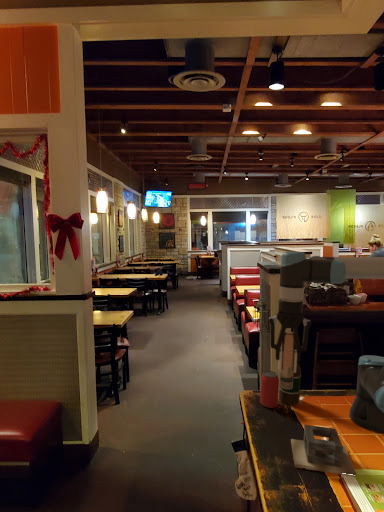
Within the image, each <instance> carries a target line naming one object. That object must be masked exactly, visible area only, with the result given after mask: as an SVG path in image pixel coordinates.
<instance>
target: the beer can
mask: <svg viewBox="0 0 384 512" xmlns="http://www.w3.org/2000/svg"><path fill="white" fill-rule="evenodd" d="M279 388H280V377H279V376H278V373H277V372H276V371H272V370H264V371H263V372H262V376H261V378H260V390H259V391H260V394H259V395H260V396H259V397H260V398H259V403H260V404H261V405H262V406H263V407H265V408H269V409H273V408H275V407H277V406H278V404H279V403H278V402H279V401H278V400H279Z"/></svg>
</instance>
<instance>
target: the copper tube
mask: <svg viewBox="0 0 384 512" xmlns="http://www.w3.org/2000/svg"><path fill="white" fill-rule="evenodd" d="M281 349H282V367H281V371H280V372H281V375H280V374H279V388H280V387H281V388H283V389H287V390H290V389H292V388H293V369H294V352H295V334H294V331H291V330H289V331H285V333H284V337H283V341H282V344H281Z"/></svg>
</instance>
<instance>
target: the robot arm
mask: <svg viewBox="0 0 384 512" xmlns="http://www.w3.org/2000/svg"><path fill="white" fill-rule="evenodd" d="M280 259H281V260H280V270H279V272H280V273H279V290H278V291H279V292H278V298H280V299H278V308H277V309H278V311H277V313H276V315H275V316H269V317H268V321H269V324H270V348H271V349H274V350H275V360H277V361H278V367H277V369H278V372H281V367H282V341H283V337H284V333H285V331H286V329H292V330H293V331H292V332H294V334H295V344H296V350H295V352H294V369H293V372H295V373H296V366H297V362H298V363H300V361H301V353H302V352H307V350H308V343H309V342H308V341H309V333H310V327H311V326H312V321H311V320H310V319H307V318H305V317H304V315H303V313H304V312H303V310H304V309H303V308H304V302H303V300H304V295H305V294H304V292H305V291H304V290H305V283H318V284H331V285H334V284H336V285H339V284H340V285H341V284H343V283H344V282H345V280H346V279H354V280H356V279H359V280H362V279H363V280H370V279H371V280H384V256H320V255H313V256H310V257H308V258H307V256H306V253H305V252H303V251H302V252H301V251H284V252H282V254H281V258H280ZM277 321H278V323H280V325H281V326H280V330H279V334H278V338H277V340H276V339H275V337H276V336H275V334H276V333H275V332H276V331H275V330H276V326H275V324H277ZM301 323H302V324H303V333H302V343H301V342H300V336H299V328H298V327H299V326H300V325H301ZM275 340H276V341H275ZM275 342H276V343H275ZM348 416H349V418H350V421H352V422H353V423H354V424H356V425H357V426H359V427H361V428H362V429H366V430H367V431H371V432H375V433H383V434H384V356H379V355H373V354H371V355H369V354H366V355H361V356H360V357H359V358H358V364H357V379H356V393H355V398H354V399H353V401H352V403H351V406H350V408H349V414H348Z"/></svg>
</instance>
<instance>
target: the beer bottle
mask: <svg viewBox="0 0 384 512" xmlns="http://www.w3.org/2000/svg"><path fill="white" fill-rule="evenodd" d="M295 350H296V344H295ZM279 372H280V374H279V376H280V375H281V371H279ZM301 380H302V368H301V366H300V364H299V362H297V366H296V373H295V372H293V388H292V389H290V390H287V389H283V388H281V387H280V386H279V388H278V400H279V401H280V402H281V403H282V404H285V405H288V406H295V405H298V403H299V402H300V394H301Z"/></svg>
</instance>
